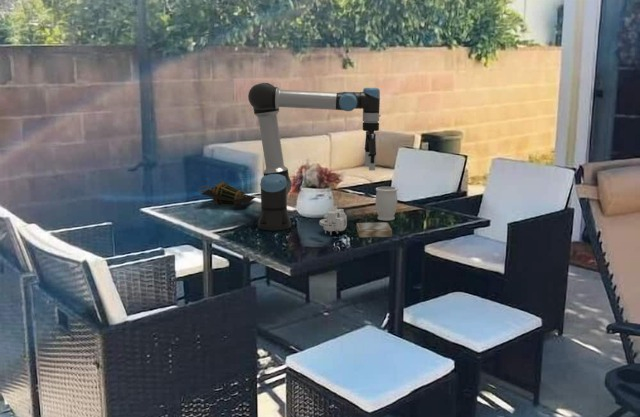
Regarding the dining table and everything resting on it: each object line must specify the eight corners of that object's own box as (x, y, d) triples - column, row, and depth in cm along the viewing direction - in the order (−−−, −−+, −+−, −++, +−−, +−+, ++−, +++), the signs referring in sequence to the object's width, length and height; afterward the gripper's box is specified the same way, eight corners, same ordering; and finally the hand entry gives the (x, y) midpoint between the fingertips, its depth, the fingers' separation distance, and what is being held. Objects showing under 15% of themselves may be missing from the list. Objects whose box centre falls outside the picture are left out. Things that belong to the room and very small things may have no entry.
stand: (359, 237, 288) (359, 229, 287) (356, 229, 302) (356, 222, 301) (391, 236, 289) (392, 229, 288) (387, 229, 302) (387, 221, 302)
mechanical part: (326, 228, 303) (326, 203, 301) (350, 231, 298) (350, 205, 295) (314, 234, 293) (314, 208, 291) (339, 237, 288) (339, 210, 285)
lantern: (241, 218, 342) (186, 201, 345) (252, 213, 365) (200, 197, 368) (248, 192, 340) (193, 176, 343) (259, 189, 363) (207, 173, 366)
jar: (395, 221, 316) (396, 190, 313) (373, 221, 318) (374, 189, 315) (397, 216, 326) (398, 186, 323) (376, 216, 328) (377, 185, 325)
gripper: (383, 124, 295) (381, 172, 300) (375, 119, 320) (374, 164, 324) (366, 124, 295) (365, 172, 299) (359, 119, 319) (358, 164, 324)
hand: (369, 168), depth 312 cm, fingers open, 13 cm apart
